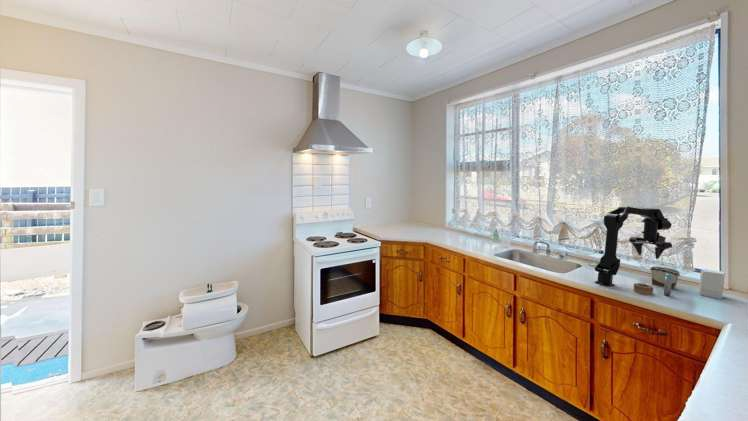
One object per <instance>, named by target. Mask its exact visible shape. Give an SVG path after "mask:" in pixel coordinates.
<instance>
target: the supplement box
mask: <svg viewBox="0 0 748 421" xmlns="http://www.w3.org/2000/svg"><path fill="white" fill-rule="evenodd" d="M699 276H700V277H699V278H700V279H699V285H698V293H699V295H700V296H703V297H704V296H705V297H709V298H714V299H719V300H720V299H721V300H722V299H723V296H724V295H723V292H724V287H725V286H724V285H725V276H726V274H725V273H724V272H723V271H722V270H715V269H707V268H700V275H699Z"/></svg>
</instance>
